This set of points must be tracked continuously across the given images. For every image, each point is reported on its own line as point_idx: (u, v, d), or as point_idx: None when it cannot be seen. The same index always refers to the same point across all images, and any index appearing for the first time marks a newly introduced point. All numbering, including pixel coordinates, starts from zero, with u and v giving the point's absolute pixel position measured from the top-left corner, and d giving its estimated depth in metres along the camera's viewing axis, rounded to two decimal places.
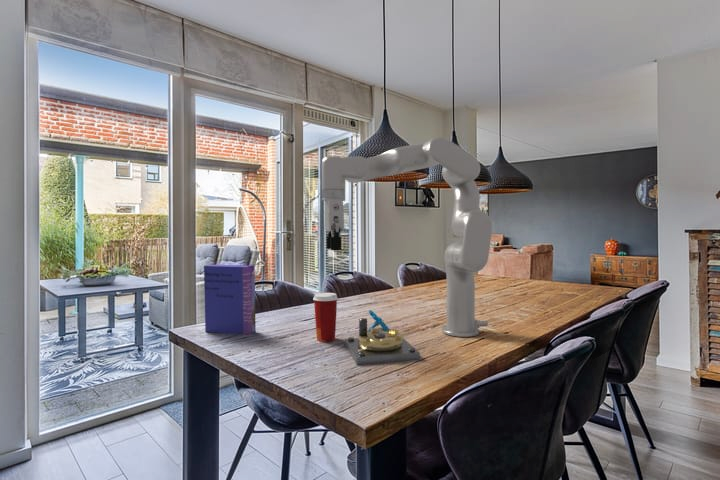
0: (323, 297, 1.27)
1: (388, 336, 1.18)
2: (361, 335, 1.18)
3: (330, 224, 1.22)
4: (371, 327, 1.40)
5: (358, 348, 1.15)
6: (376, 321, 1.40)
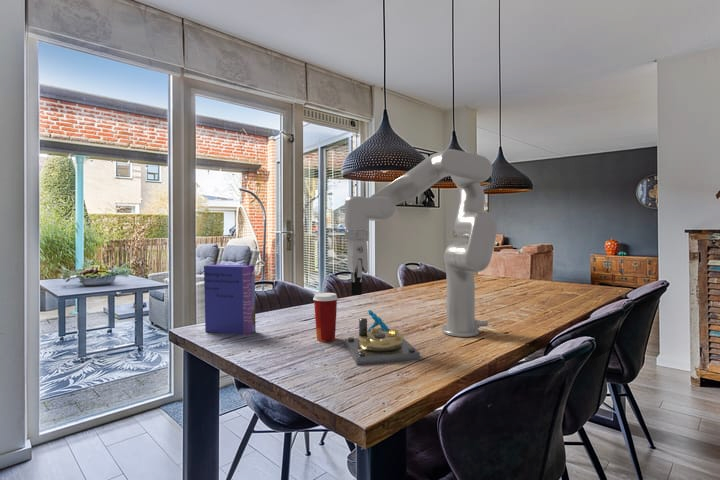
0: (323, 297, 1.27)
1: (388, 336, 1.18)
2: (361, 335, 1.18)
3: (354, 266, 1.19)
4: (371, 327, 1.40)
5: (358, 348, 1.15)
6: (376, 321, 1.40)
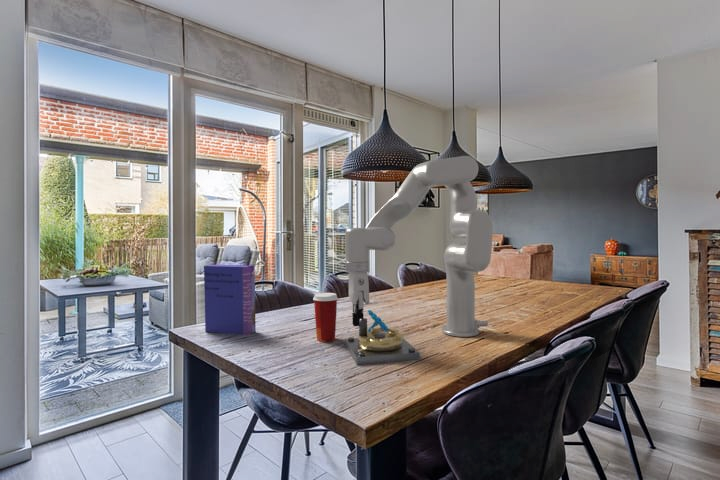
0: (323, 297, 1.27)
1: (388, 336, 1.18)
2: (361, 335, 1.18)
3: (355, 299, 1.19)
4: (370, 327, 1.41)
5: (358, 348, 1.15)
6: None
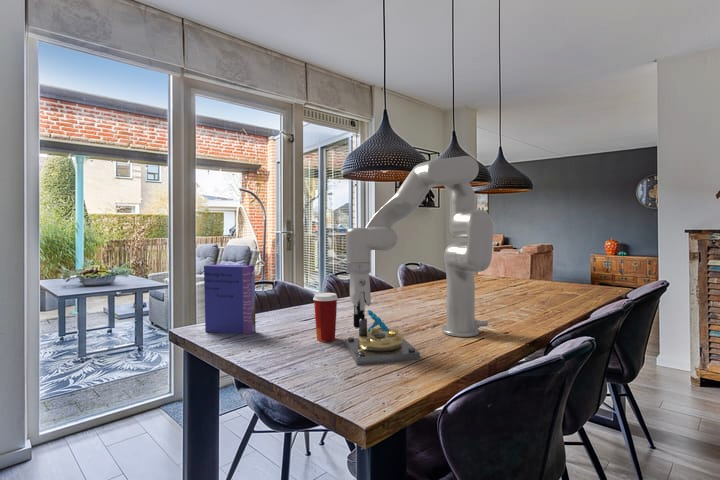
0: (323, 297, 1.27)
1: (388, 336, 1.18)
2: (361, 335, 1.18)
3: (356, 300, 1.17)
4: (370, 327, 1.41)
5: (358, 348, 1.15)
6: (375, 321, 1.40)
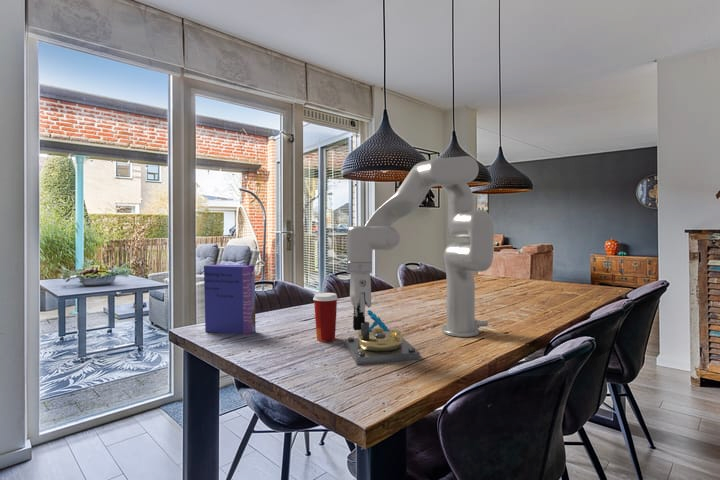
0: (323, 297, 1.27)
1: None
2: (366, 339, 1.14)
3: (356, 301, 1.12)
4: (370, 327, 1.41)
5: (358, 348, 1.15)
6: None
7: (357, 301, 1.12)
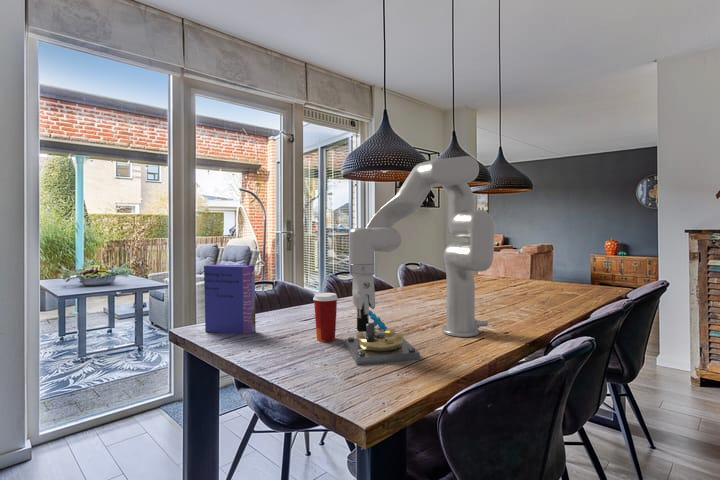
0: (323, 297, 1.27)
1: None
2: (373, 340, 1.12)
3: (360, 303, 1.13)
4: None
5: (358, 348, 1.15)
6: (374, 321, 1.41)
7: (361, 303, 1.13)
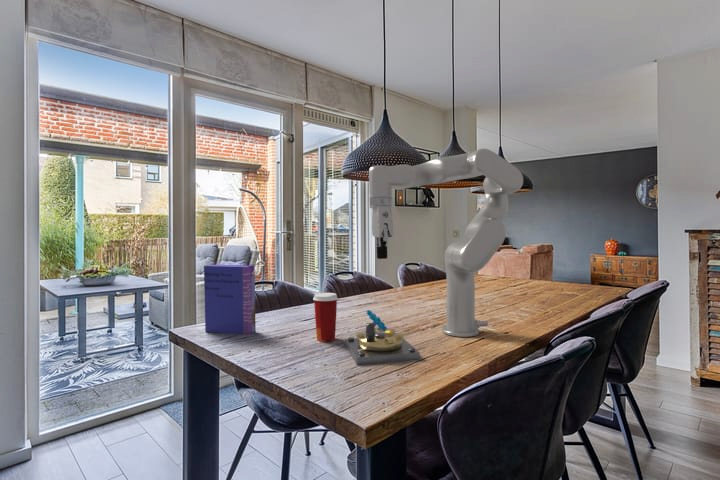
0: (323, 297, 1.27)
1: None
2: (373, 340, 1.12)
3: (380, 231, 1.27)
4: None
5: (358, 348, 1.15)
6: (374, 321, 1.41)
7: (381, 231, 1.27)
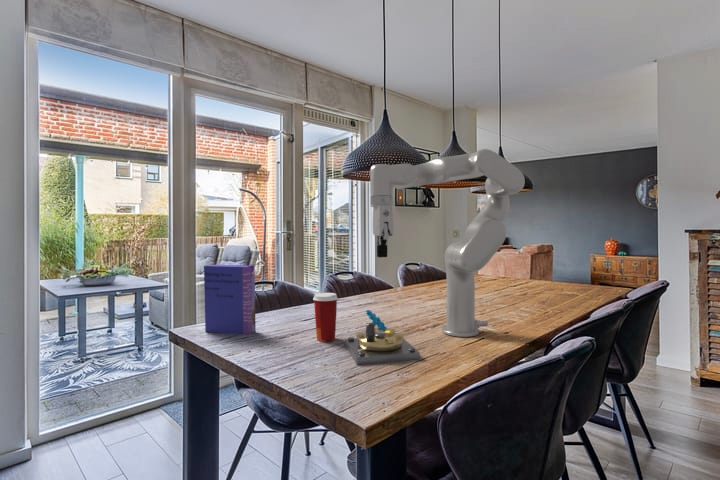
0: (323, 297, 1.27)
1: None
2: (373, 340, 1.12)
3: (381, 229, 1.27)
4: None
5: (358, 348, 1.15)
6: None
7: (381, 229, 1.27)
